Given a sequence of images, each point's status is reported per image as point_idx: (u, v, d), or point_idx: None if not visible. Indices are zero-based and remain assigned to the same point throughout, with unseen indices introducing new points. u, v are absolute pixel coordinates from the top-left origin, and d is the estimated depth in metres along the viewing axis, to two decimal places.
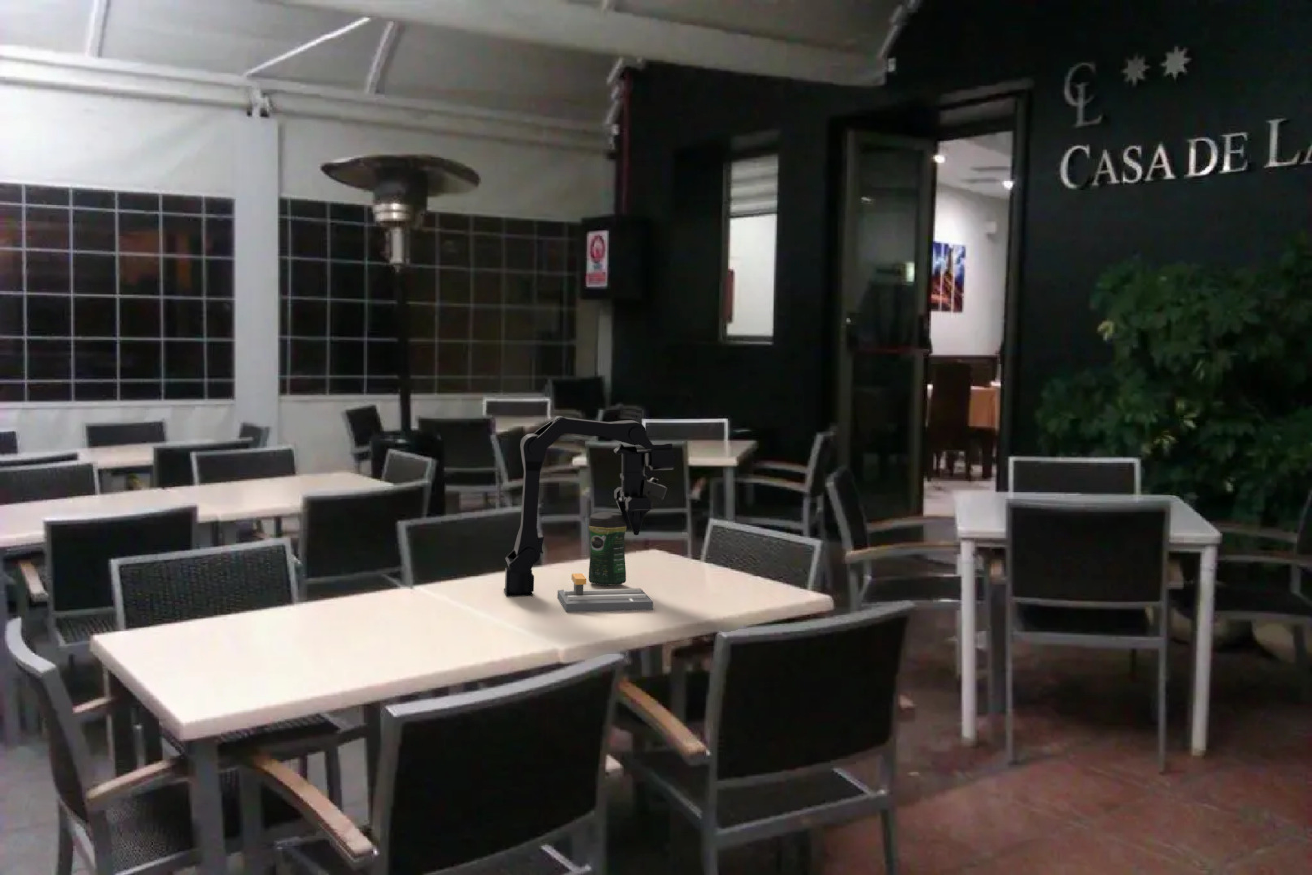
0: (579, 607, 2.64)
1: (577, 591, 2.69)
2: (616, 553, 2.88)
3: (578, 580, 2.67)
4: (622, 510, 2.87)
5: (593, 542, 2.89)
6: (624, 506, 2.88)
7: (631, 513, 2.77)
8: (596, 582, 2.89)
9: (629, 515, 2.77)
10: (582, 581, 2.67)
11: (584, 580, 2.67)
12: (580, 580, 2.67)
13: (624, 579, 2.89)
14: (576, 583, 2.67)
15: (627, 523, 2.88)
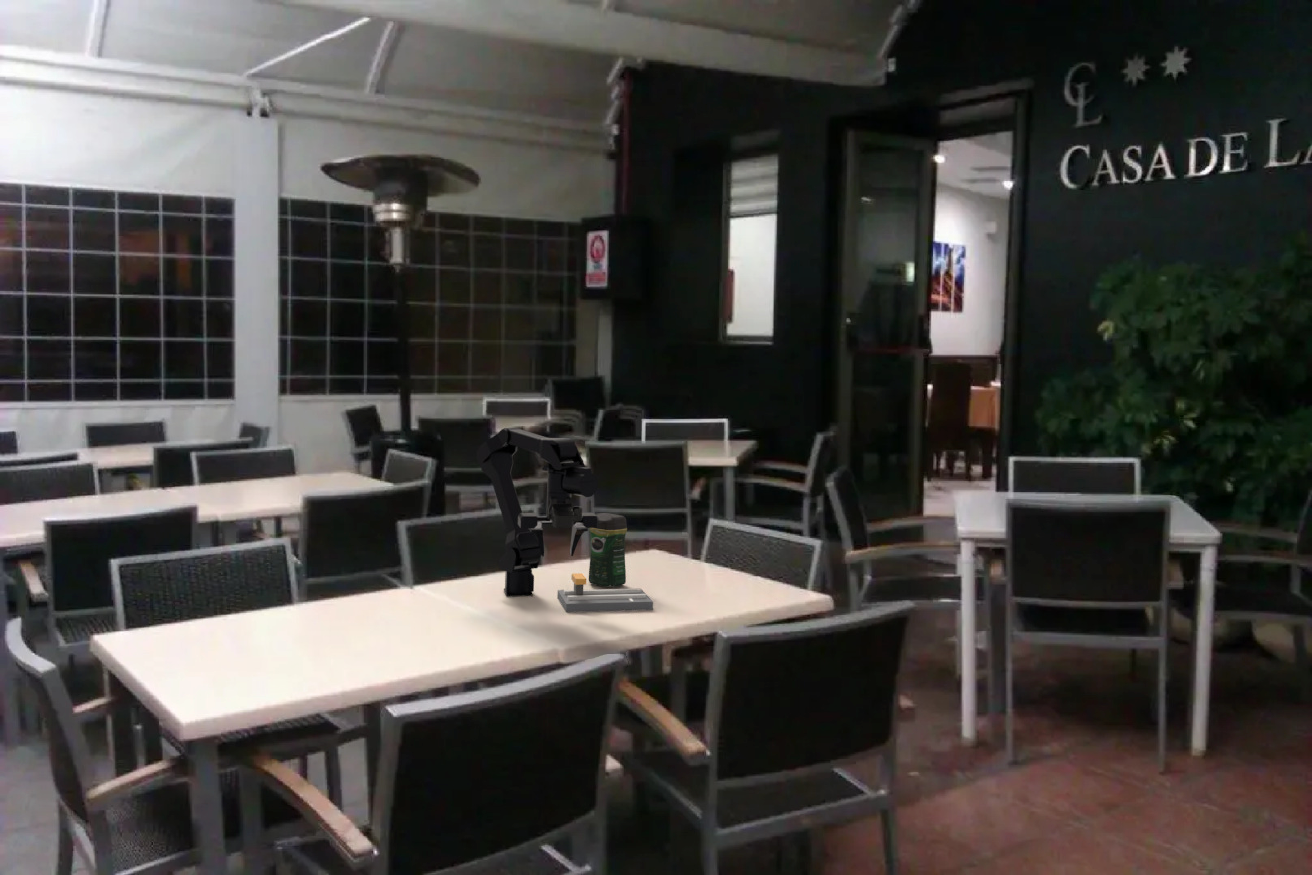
0: (579, 607, 2.64)
1: (577, 591, 2.69)
2: (616, 555, 2.87)
3: (578, 580, 2.67)
4: None
5: (593, 543, 2.89)
6: (572, 531, 2.70)
7: None
8: (595, 583, 2.89)
9: (534, 532, 2.68)
10: (582, 581, 2.67)
11: (584, 580, 2.67)
12: (580, 580, 2.67)
13: (624, 581, 2.89)
14: (576, 583, 2.67)
15: (570, 549, 2.69)
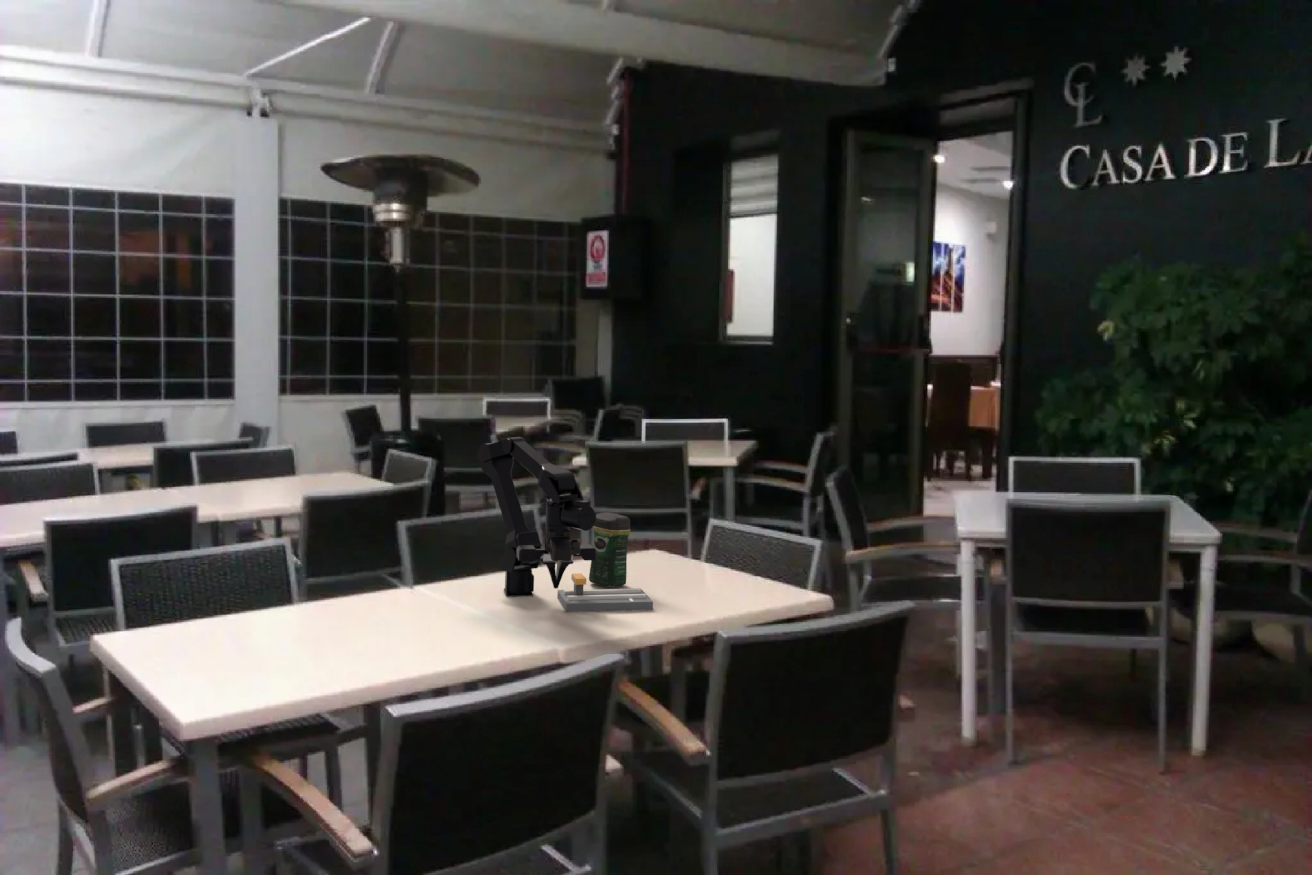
0: (579, 607, 2.64)
1: (577, 591, 2.69)
2: (618, 556, 2.87)
3: (578, 580, 2.67)
4: (557, 566, 2.70)
5: (595, 542, 2.89)
6: (558, 563, 2.70)
7: None
8: (596, 582, 2.89)
9: (546, 564, 2.70)
10: (582, 581, 2.67)
11: (584, 580, 2.67)
12: (580, 580, 2.67)
13: (624, 582, 2.89)
14: (576, 583, 2.67)
15: None
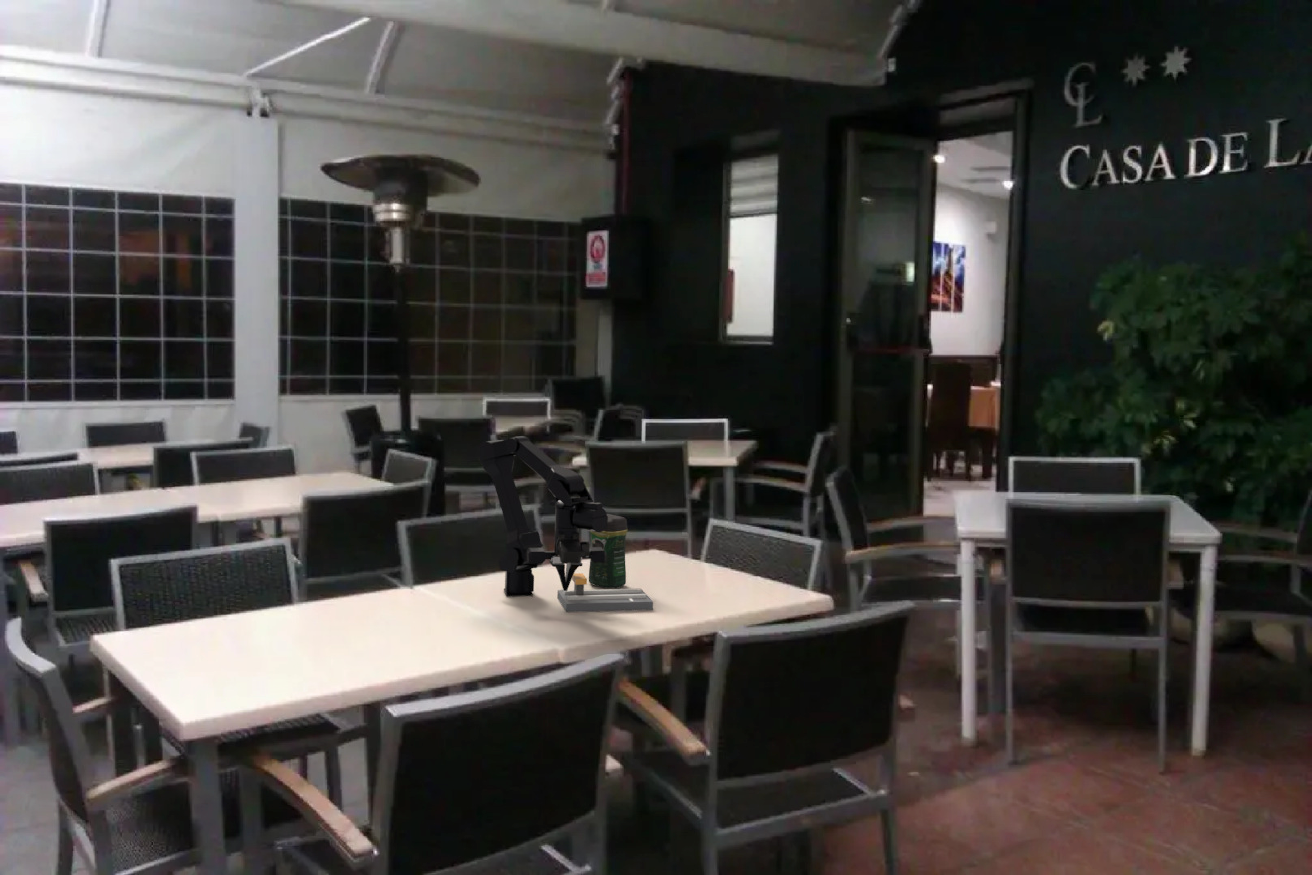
0: (579, 607, 2.64)
1: (577, 591, 2.69)
2: (616, 556, 2.87)
3: (578, 580, 2.67)
4: (566, 569, 2.71)
5: (593, 544, 2.88)
6: (567, 565, 2.70)
7: None
8: (596, 584, 2.89)
9: (555, 566, 2.70)
10: (582, 581, 2.67)
11: (584, 580, 2.67)
12: (580, 580, 2.67)
13: (624, 582, 2.89)
14: (576, 583, 2.67)
15: None
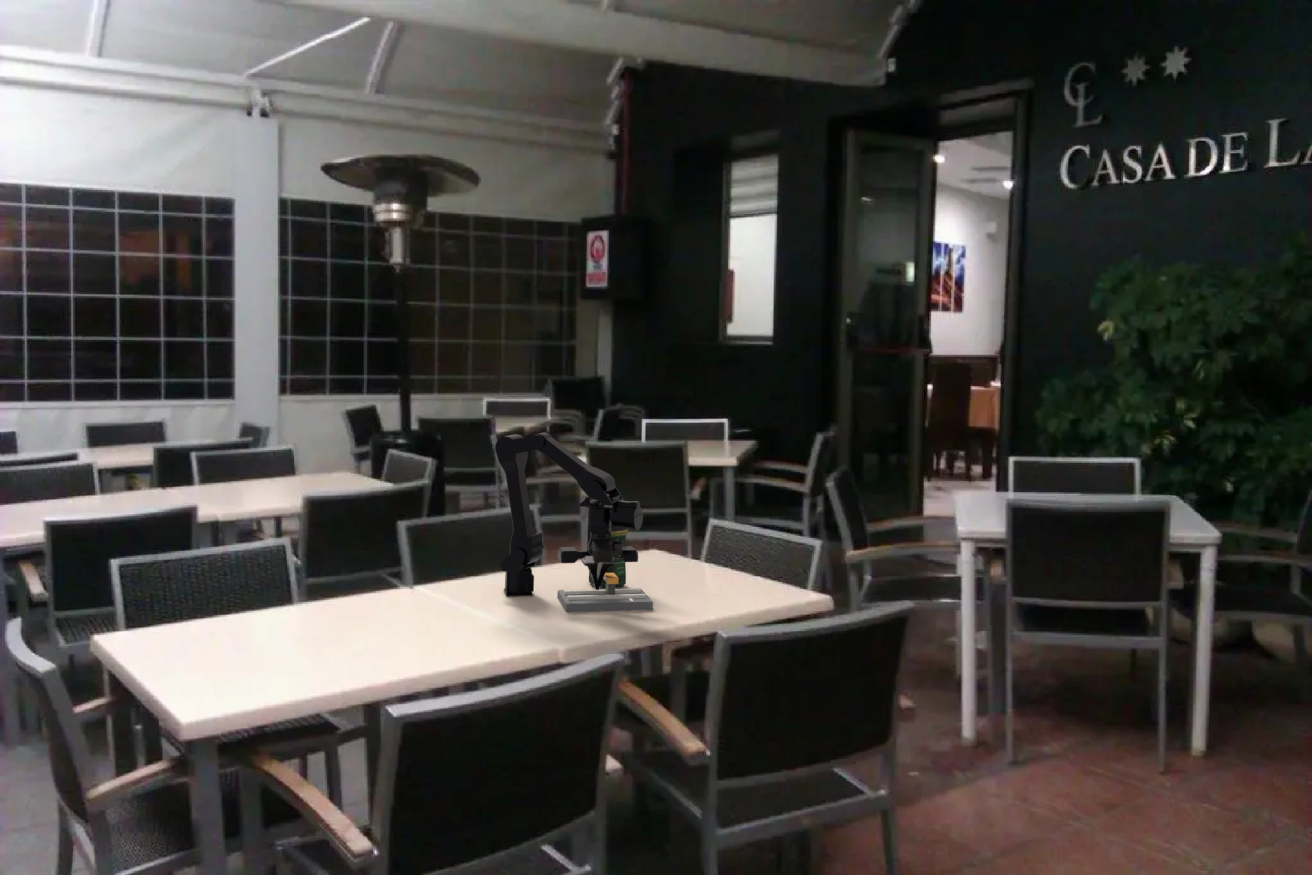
0: (579, 607, 2.64)
1: (609, 590, 2.71)
2: None
3: (610, 579, 2.69)
4: None
5: None
6: (599, 565, 2.72)
7: None
8: None
9: (587, 565, 2.72)
10: (614, 580, 2.69)
11: (616, 579, 2.69)
12: (612, 579, 2.69)
13: (624, 582, 2.89)
14: (608, 582, 2.69)
15: None
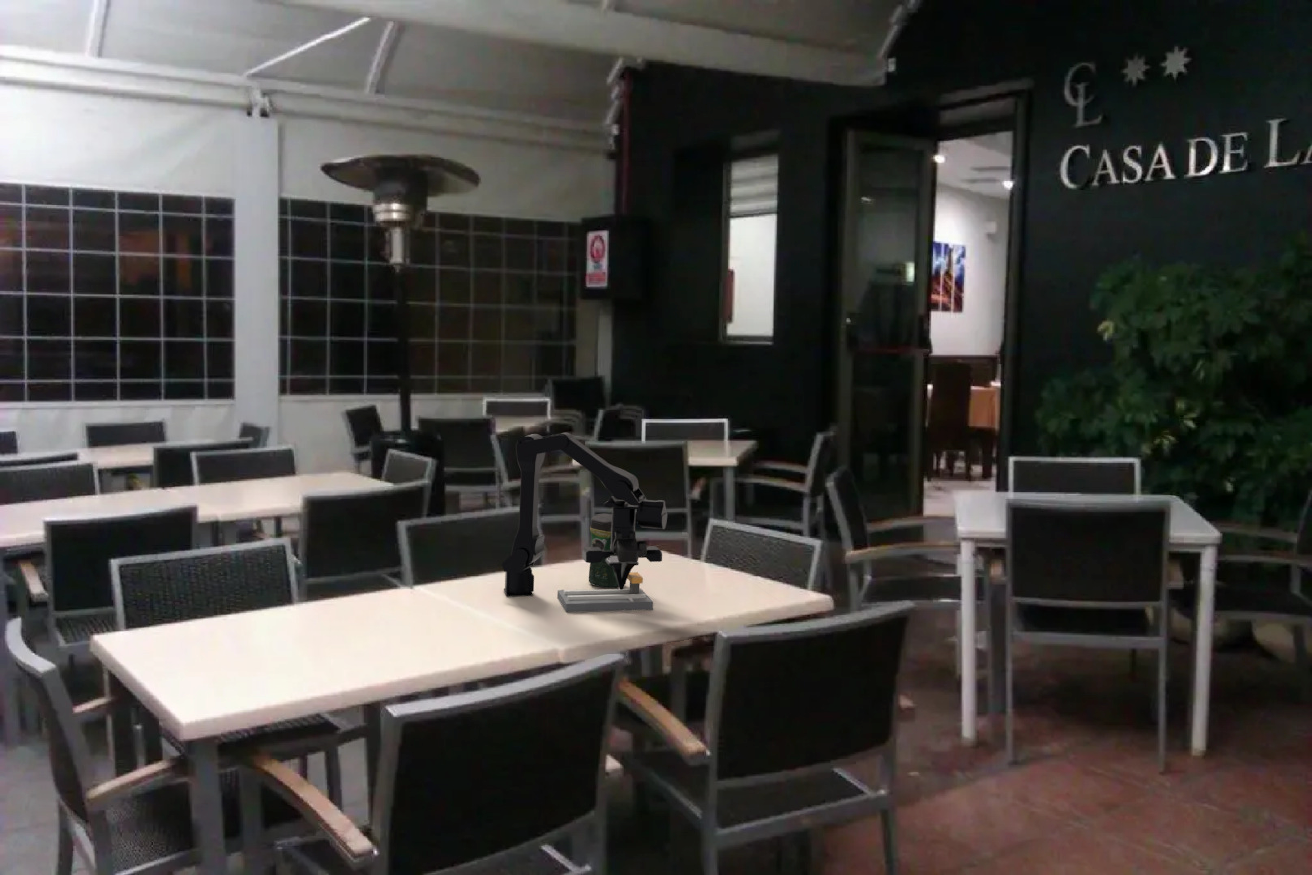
0: (579, 607, 2.64)
1: (633, 590, 2.72)
2: None
3: (635, 579, 2.70)
4: None
5: (593, 544, 2.89)
6: (623, 564, 2.73)
7: None
8: (596, 584, 2.89)
9: (611, 565, 2.74)
10: (638, 580, 2.71)
11: (640, 579, 2.71)
12: (636, 579, 2.71)
13: None
14: (633, 582, 2.70)
15: None
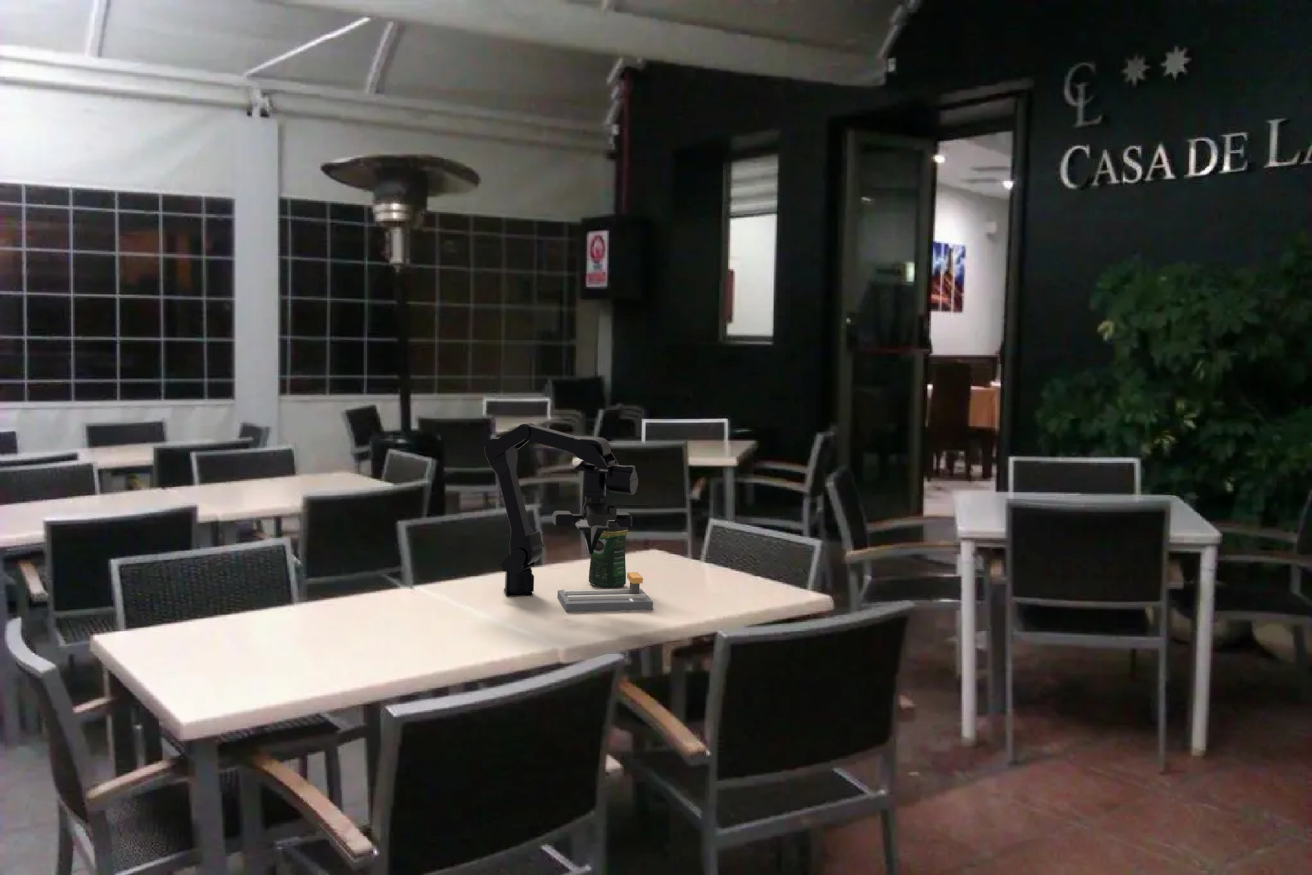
0: (579, 607, 2.64)
1: (633, 590, 2.72)
2: (617, 557, 2.87)
3: (635, 579, 2.70)
4: (592, 533, 2.73)
5: None
6: (593, 529, 2.72)
7: None
8: (596, 584, 2.89)
9: (581, 530, 2.73)
10: (639, 580, 2.71)
11: (640, 579, 2.71)
12: (637, 579, 2.71)
13: (624, 582, 2.89)
14: (633, 582, 2.70)
15: None
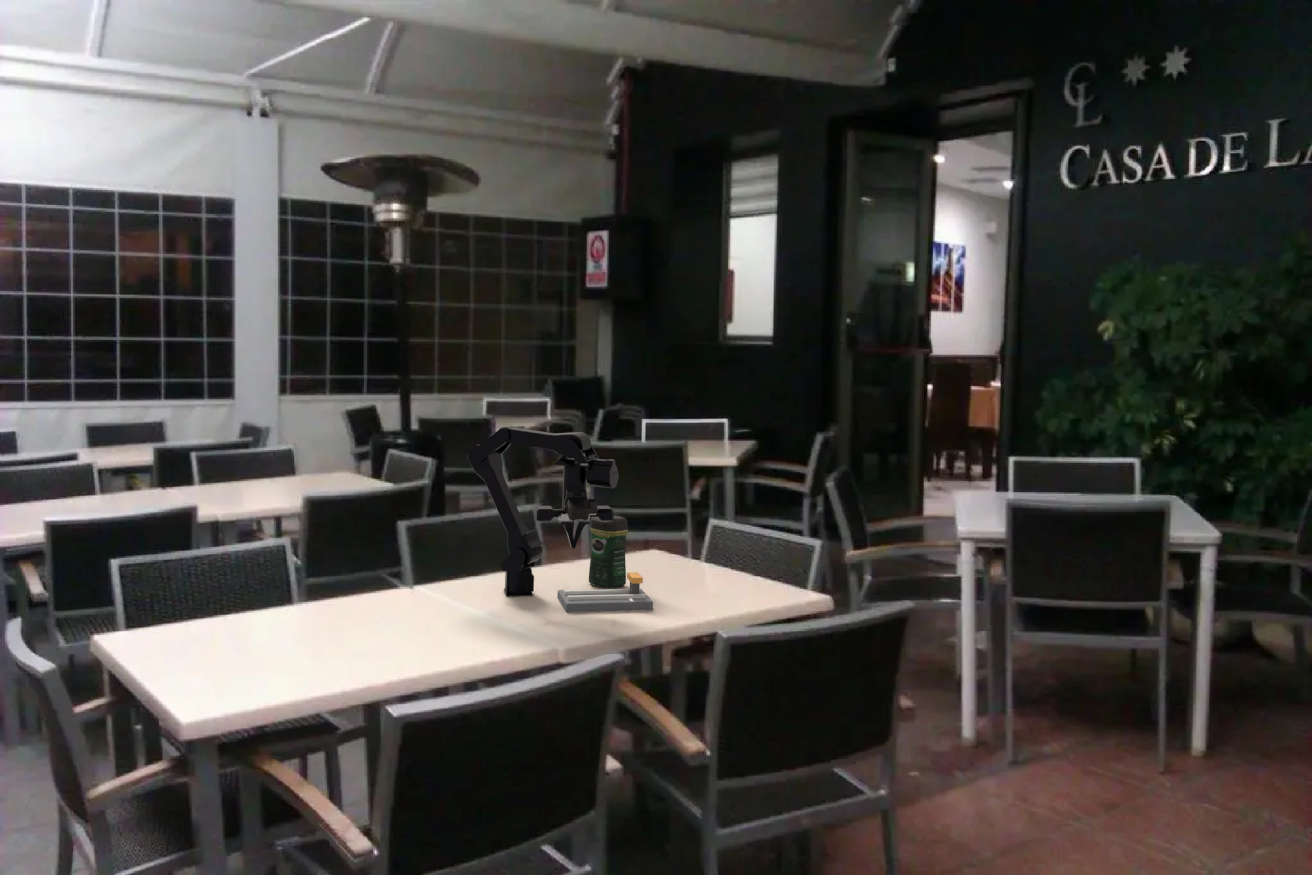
0: (579, 607, 2.64)
1: (633, 590, 2.72)
2: (617, 557, 2.87)
3: (635, 579, 2.70)
4: (574, 527, 2.74)
5: (593, 544, 2.89)
6: (575, 523, 2.74)
7: None
8: (596, 584, 2.89)
9: (563, 524, 2.74)
10: (639, 580, 2.71)
11: (640, 579, 2.71)
12: (637, 579, 2.71)
13: (624, 582, 2.89)
14: (633, 582, 2.70)
15: None
